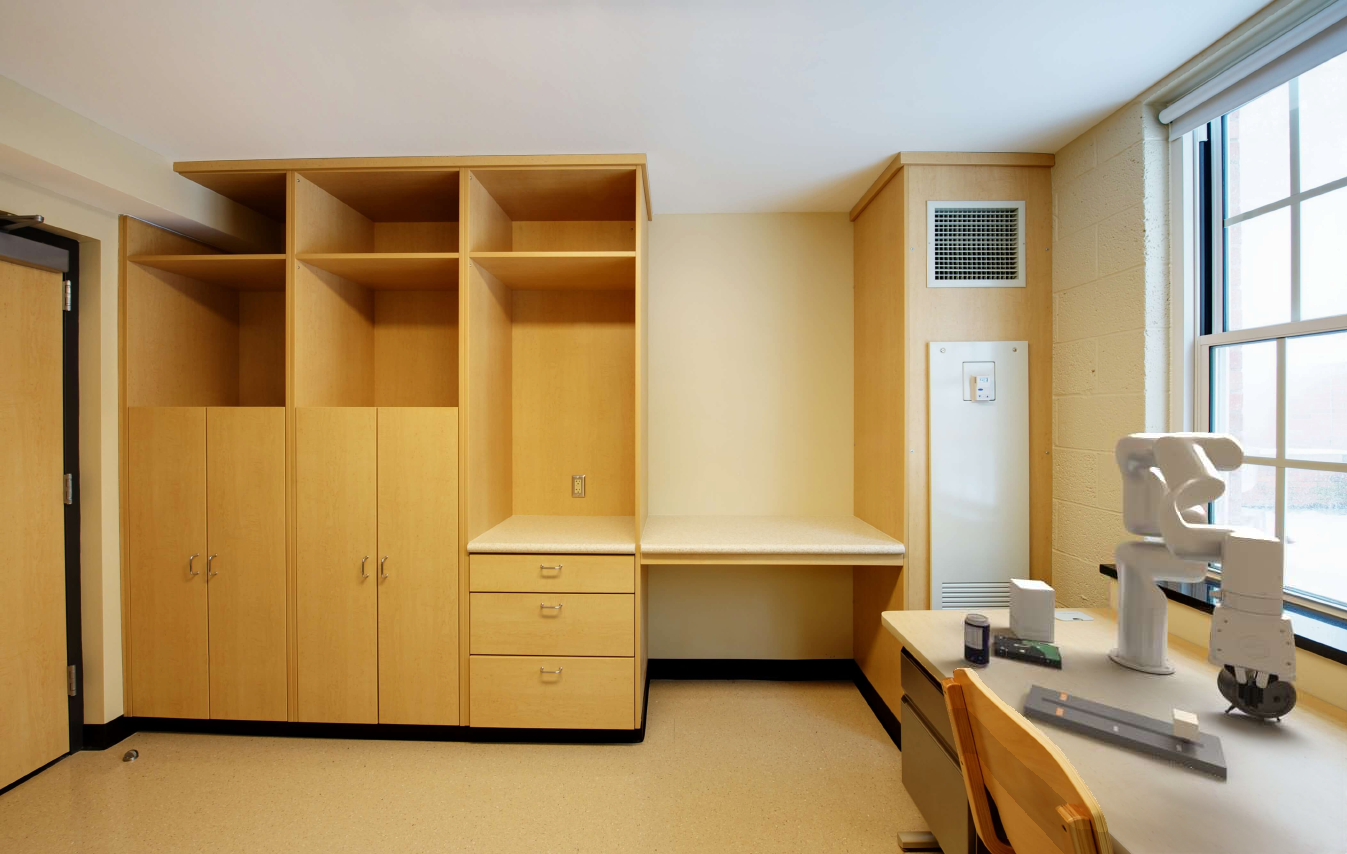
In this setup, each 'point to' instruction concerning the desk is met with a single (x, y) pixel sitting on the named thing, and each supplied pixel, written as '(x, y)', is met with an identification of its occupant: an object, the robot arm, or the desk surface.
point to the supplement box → (1032, 610)
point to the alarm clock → (1275, 696)
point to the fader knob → (1185, 725)
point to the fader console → (1126, 729)
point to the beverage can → (976, 640)
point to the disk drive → (1027, 651)
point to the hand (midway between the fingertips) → (1249, 704)
